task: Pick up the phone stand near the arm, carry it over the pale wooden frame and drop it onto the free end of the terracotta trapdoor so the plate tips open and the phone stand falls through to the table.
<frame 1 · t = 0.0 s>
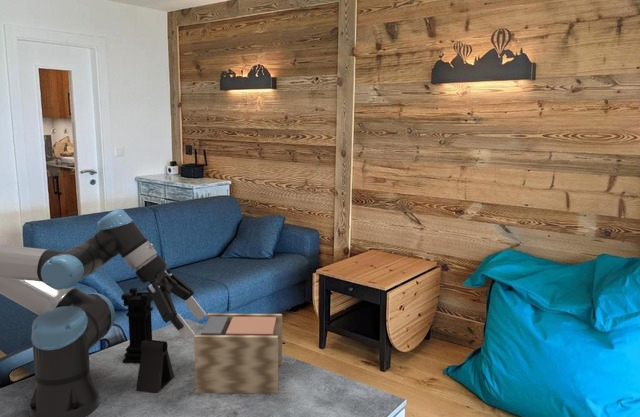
hand: (196, 327, 136), 15 cm above the table, tool tilted 35°, fingers open, 13 cm apart
trapdoor: (240, 331, 139), point 13 cm above the table, hinge at 0.0°
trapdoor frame: (230, 377, 141), on the table
chess piece: (141, 357, 153), on the table
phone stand: (155, 384, 137), on the table
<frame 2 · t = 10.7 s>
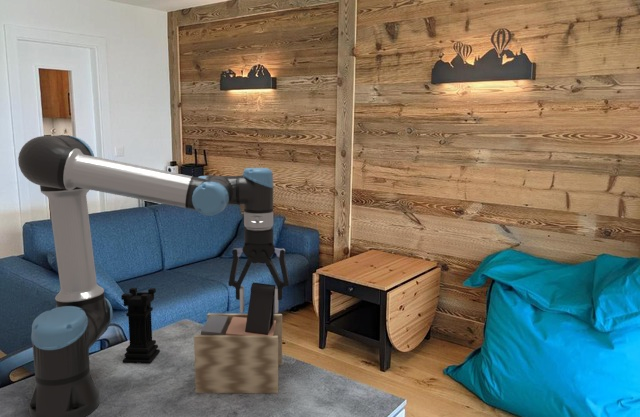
hand: (259, 311, 138), 19 cm above the table, tool pointing down, fingers open, 8 cm apart
trapdoor: (239, 332, 139), point 13 cm above the table, hinge at -5.1°, touching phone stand
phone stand: (259, 328, 139), point 14 cm above the table, touching gripper, trapdoor
everything else where it was.
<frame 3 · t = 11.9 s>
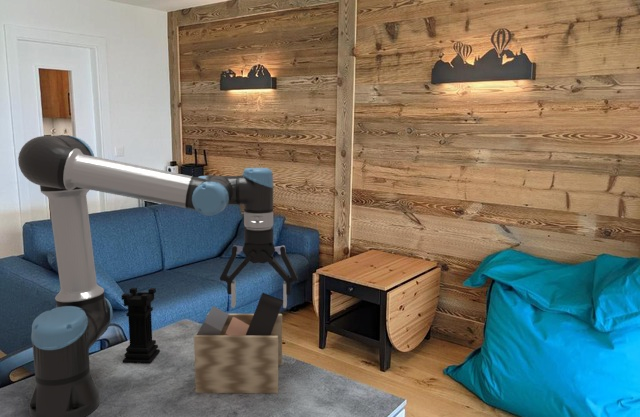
hand: (259, 306, 138), 20 cm above the table, tool pointing down, fingers open, 13 cm apart
trapdoor: (235, 335, 139), point 12 cm above the table, hinge at -29.0°, touching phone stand
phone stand: (257, 338, 139), point 11 cm above the table, touching gripper, trapdoor
everything else where it was.
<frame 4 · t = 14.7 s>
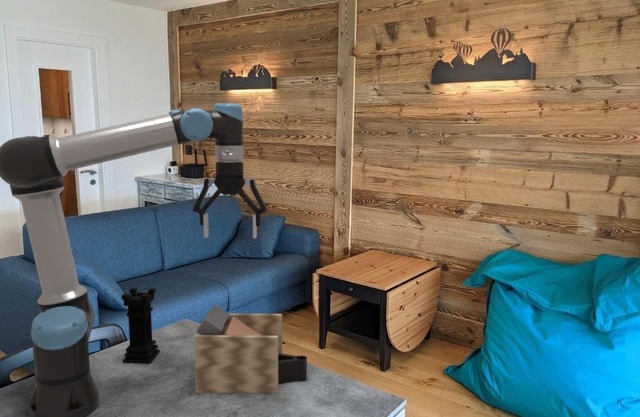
hand: (230, 237, 145), 37 cm above the table, tool pointing down, fingers open, 13 cm apart
trapdoor: (234, 336, 139), point 12 cm above the table, hinge at -34.4°
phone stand: (261, 368, 140), point 3 cm above the table
everything else where it was.
at the end: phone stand point 3.0 cm above the table; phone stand inside the target area (5.6 cm from its centre), point 3.0 cm above the table; the gripper is holding nothing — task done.
